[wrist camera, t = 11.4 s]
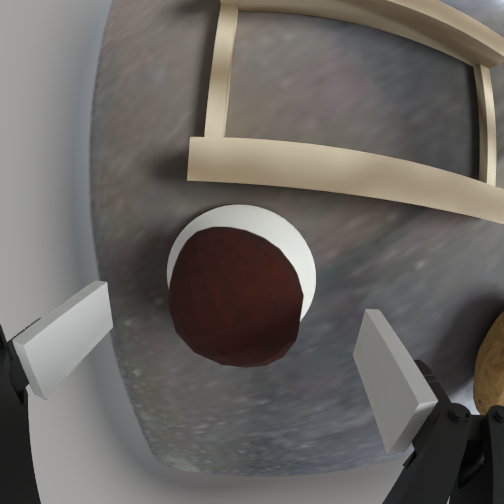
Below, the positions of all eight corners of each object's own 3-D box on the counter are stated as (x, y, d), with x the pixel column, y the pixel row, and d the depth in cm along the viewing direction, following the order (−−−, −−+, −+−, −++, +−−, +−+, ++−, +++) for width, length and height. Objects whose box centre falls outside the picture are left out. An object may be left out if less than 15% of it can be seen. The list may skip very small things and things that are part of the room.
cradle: (226, -9, 15) (218, -40, 11) (477, 51, 14) (503, 37, 10) (205, 180, 20) (187, 180, 15) (483, 218, 19) (515, 227, 14)
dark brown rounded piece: (264, 195, 19) (260, 204, 11) (317, 310, 21) (337, 373, 13) (164, 245, 20) (111, 280, 13) (222, 347, 22) (203, 415, 14)
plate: (171, 199, 20) (167, 200, 19) (322, 211, 20) (325, 212, 19) (172, 332, 23) (169, 337, 22) (303, 346, 22) (304, 351, 22)
